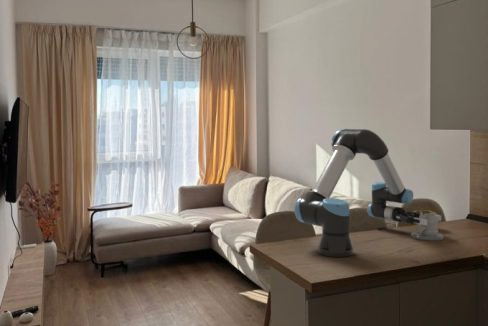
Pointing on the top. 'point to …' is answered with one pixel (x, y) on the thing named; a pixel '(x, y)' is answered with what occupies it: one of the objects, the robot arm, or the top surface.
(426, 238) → the trivet
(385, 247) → the top surface
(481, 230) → the top surface
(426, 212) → the flower pot
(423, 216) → the mug
